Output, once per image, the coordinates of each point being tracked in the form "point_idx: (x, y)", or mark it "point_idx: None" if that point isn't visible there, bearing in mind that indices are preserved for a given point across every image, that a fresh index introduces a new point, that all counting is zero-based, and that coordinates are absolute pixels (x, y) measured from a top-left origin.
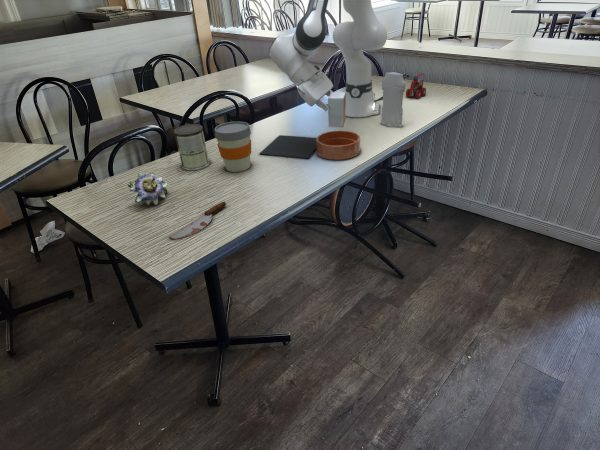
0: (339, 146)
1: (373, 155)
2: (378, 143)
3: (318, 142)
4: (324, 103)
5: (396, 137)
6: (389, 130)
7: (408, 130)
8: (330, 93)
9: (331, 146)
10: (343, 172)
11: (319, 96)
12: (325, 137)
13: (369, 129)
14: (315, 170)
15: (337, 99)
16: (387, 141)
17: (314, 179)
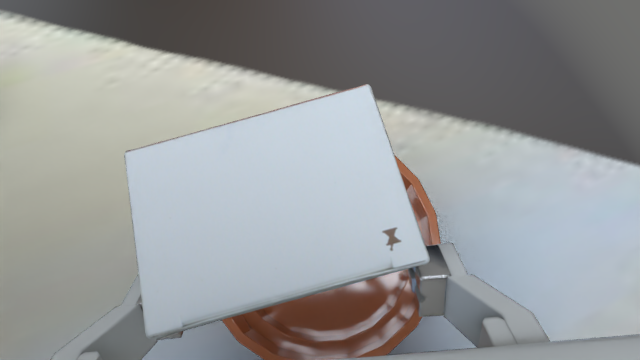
0: (424, 192)
1: (316, 95)
2: (186, 116)
3: (415, 326)
4: (478, 287)
5: (108, 71)
6: (29, 120)
7: (23, 50)
8: (194, 324)
9: (438, 232)
10: (517, 147)
11: (572, 356)
12: (268, 343)
13: (22, 207)
14: (552, 267)
15: (392, 150)
16: (158, 90)
17: (635, 233)
